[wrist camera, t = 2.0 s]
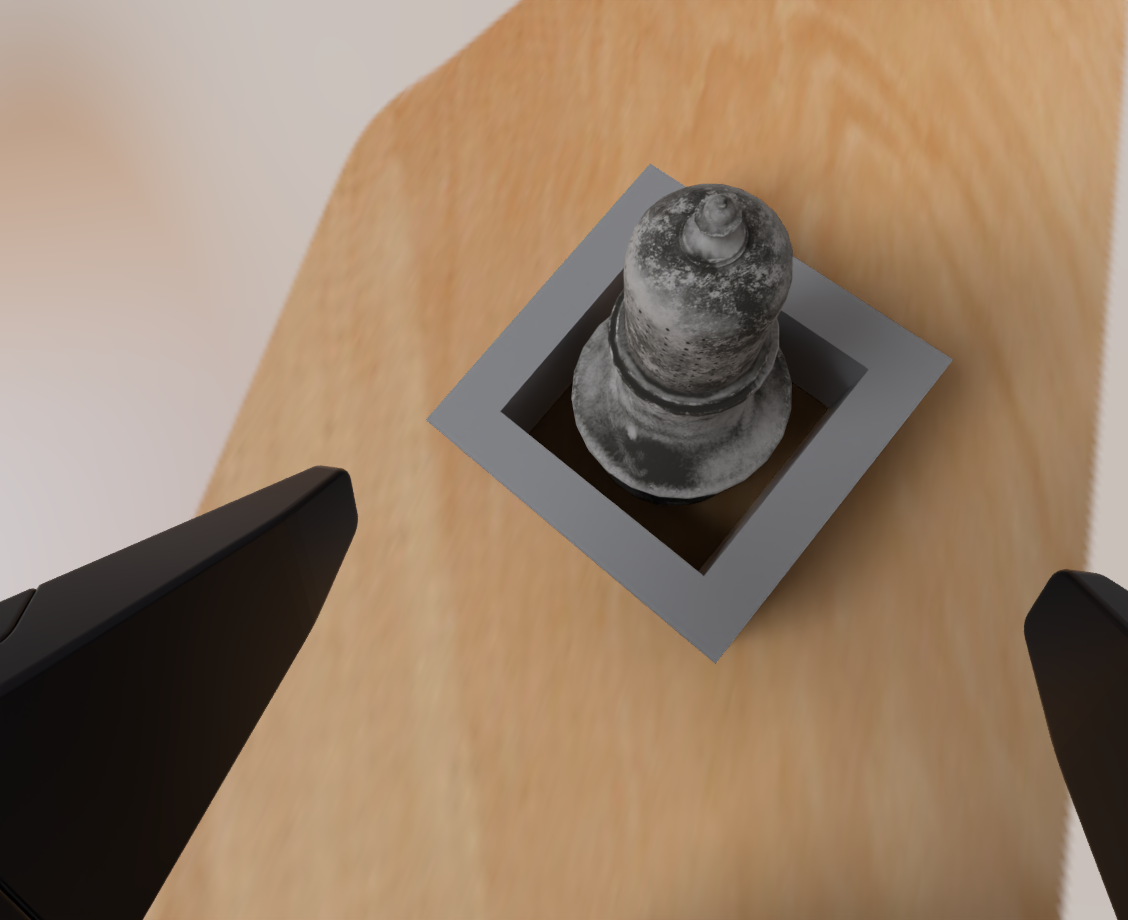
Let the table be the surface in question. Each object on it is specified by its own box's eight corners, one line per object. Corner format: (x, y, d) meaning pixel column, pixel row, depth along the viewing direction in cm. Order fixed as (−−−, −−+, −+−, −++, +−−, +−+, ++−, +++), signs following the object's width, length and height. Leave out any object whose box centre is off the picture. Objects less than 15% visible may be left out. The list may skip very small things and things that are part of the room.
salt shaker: (727, 317, 21) (842, -32, 9) (793, 481, 20) (1027, 315, 8) (559, 372, 21) (467, 101, 10) (614, 539, 20) (584, 460, 8)
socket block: (700, 651, 19) (715, 663, 15) (459, 448, 21) (425, 419, 18) (898, 399, 20) (953, 359, 16) (647, 230, 22) (650, 163, 18)
